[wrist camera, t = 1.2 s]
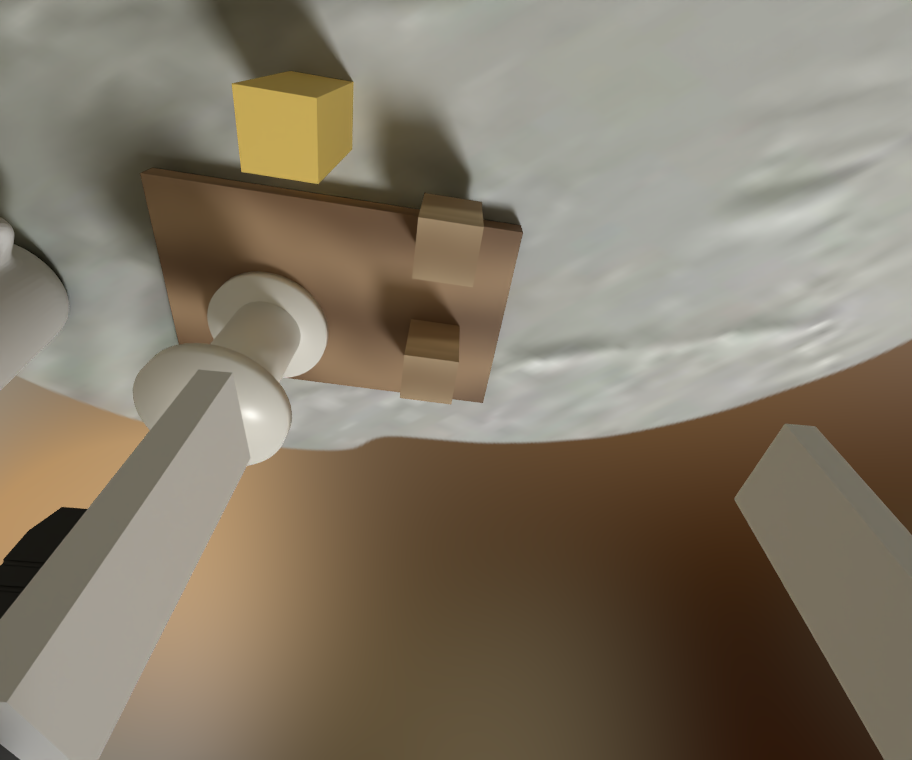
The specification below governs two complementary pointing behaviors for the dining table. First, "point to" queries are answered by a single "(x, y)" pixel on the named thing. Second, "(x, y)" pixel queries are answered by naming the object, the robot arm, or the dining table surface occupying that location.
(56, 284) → the cup
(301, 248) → the board
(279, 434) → the knob
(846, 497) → the robot arm
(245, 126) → the yellow rectangular block
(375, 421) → the dining table surface
